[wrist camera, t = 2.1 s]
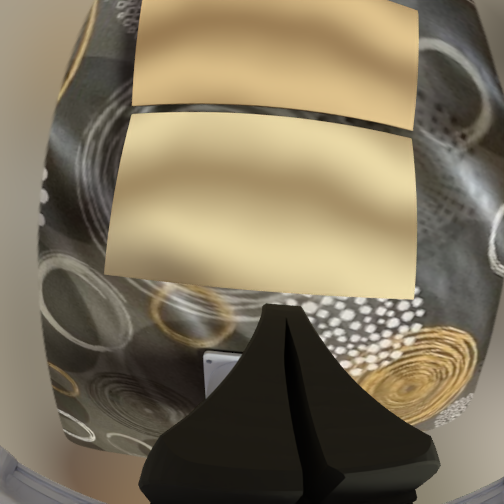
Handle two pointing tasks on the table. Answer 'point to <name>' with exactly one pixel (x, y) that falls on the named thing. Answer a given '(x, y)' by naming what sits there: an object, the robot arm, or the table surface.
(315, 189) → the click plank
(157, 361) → the table surface
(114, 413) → the table surface
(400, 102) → the laid oak board
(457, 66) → the table surface
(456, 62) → the table surface
